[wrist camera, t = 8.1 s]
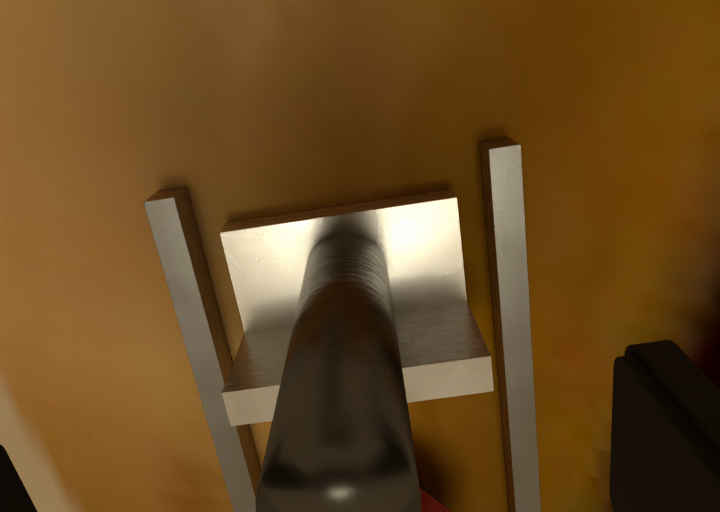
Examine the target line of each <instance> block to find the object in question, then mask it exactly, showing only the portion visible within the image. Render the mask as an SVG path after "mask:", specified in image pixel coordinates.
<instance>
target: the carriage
mask: <svg viewBox="0 0 720 512" xmlns="http://www.w3.org/2000/svg"><path fill="white" fill-rule="evenodd" d="M220 236H221V240H222V244H223V248H224V252H225V256H226V260H227V264H228V268H229V272H230V276H231V280H232V284H233V288H234V292H235V296H236V300H237V304H238V308H239V312H240V316H241V320H242V324H243V328H244V332H245V333H244V336H243V338H242V341H241V343H240V346H239V349H238V351H237V354H236V357H235V359H234V362H233V364H232V367H231V370H230V372H229V375H228V378H227V380H226V383H225V385H224V388H223V391H222V396H223V400H224V403H225V407H226V411H227V414H228V418H229V421H230V425H231V426H237V425H245V424H252V423H260V422H267V421H272V424H271V429H270V434H269V438H268V443H267V447H266V452H265V457H264V461H263V466H262V470H261V475H260V479H259V484H258V489H257V494H256V501H255V504H256V512H421V507H422V504H421V493H420V487H419V480H418V473H417V466H416V459H415V453H414V446H413V439H412V432H411V425H410V418H409V412H408V405H407V403H409V402H416V401H423V400H431V399H438V398H446V397H453V396H461V395H468V394H475V393H483V392H490V391H494V388H493V376H492V364H491V355H490V353H489V351H488V349H487V346H486V344H485V342H484V339H483V337H482V335H481V332H480V330H479V328H478V326H477V323H476V321H475V319H474V316H473V314H472V312H471V310H470V307H469V305H468V303H467V298H466V287H465V277H464V267H463V256H462V246H461V235H460V225H459V215H458V204H457V197H456V196H455V194H454V193H453V191H452V190H451V189H447V190H441V191H434V192H427V193H421V194H414V195H407V196H401V197H394V198H387V199H381V200H374V201H367V202H361V203H354V204H347V205H341V206H334V207H327V208H321V209H314V210H307V211H301V212H294V213H288V214H281V215H274V216H268V217H261V218H254V219H248V220H241V221H234V222H228V223H227V224H226V225H225V226H224V228H223V229H222V231H221V232H220Z"/></svg>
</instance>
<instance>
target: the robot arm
mask: <svg viewBox="0 0 720 512" xmlns="http://www.w3.org/2000/svg"><path fill="white" fill-rule="evenodd" d="M610 498H611V503H612V507H613V510H614V512H720V389H719V388H718V387H717V386H716V385H715V384H714V383H713V382H712V381H711V380H710V379H709V378H708V377H707V376H706V375H705V374H704V373H703V372H702V371H701V370H700V368H699V367H698V366H697V365H696V364H695V363H694V362H693V361H692V360H691V359H690V358H689V357H688V356H687V355H686V354H685V353H684V352H683V351H682V350H681V349H680V348H679V347H678V346H677V345H676V344H675V343H674V342H672V341H670V340H663V341H656V342H649V343H641V344H634V345H630V346H628V347H627V348H626V350H625V355H624V356H621V357H617V358H616V359H615V361H614V373H613V403H612V434H611V465H610ZM0 512H37V510H36V508H35V506H34V504H33V502H32V500H31V498H30V497H29V495H28V493H27V491H26V489H25V487H24V485H23V483H22V481H21V479H20V477H19V475H18V473H17V471H16V469H15V467H14V466H13V464H12V462H11V460H10V458H9V456H8V454H7V452H6V450H5V449H4V447H3V446H2V445H0Z"/></svg>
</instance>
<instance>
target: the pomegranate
mask: <svg viewBox="0 0 720 512" xmlns="http://www.w3.org/2000/svg"><path fill="white" fill-rule="evenodd" d="M420 493H421V504H422V507H421V512H451V511H450V510H449V509H448V508H446V507H445V506H444V505H442V504H441V503H440V502H438V501H437V500H436V499H434V498H433V497H432V496H430V495H429V494H428V493H426V492H425V491H424V490H422V489H420Z"/></svg>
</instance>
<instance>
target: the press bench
mask: <svg viewBox="0 0 720 512" xmlns="http://www.w3.org/2000/svg"><path fill="white" fill-rule="evenodd" d="M479 147H480V159H481V172H482V184H483V197H484V209H485V222H486V234H487V247H488V259H489V272H490V284H491V297H492V309H493V322H494V334H495V347H496V359H497V372H498V384H499V397H500V409H501V422H502V435H503V447H504V460H505V472H506V485H507V497H508V510H509V512H541V507H540V489H539V471H538V453H537V434H536V416H535V398H534V380H533V362H532V344H531V325H530V307H529V289H528V271H527V253H526V235H525V216H524V198H523V180H522V162H521V145H520V144H519V143H517V142H516V141H514V140H512V139H511V138H509V137H507V138H501V139H494V140H488V141H481V142H479ZM144 205H145V209H146V212H147V216H148V219H149V223H150V226H151V229H152V233H153V236H154V240H155V243H156V247H157V250H158V253H159V257H160V260H161V264H162V267H163V271H164V274H165V277H166V281H167V284H168V288H169V291H170V294H171V298H172V301H173V305H174V308H175V312H176V315H177V318H178V322H179V325H180V329H181V332H182V336H183V339H184V342H185V346H186V349H187V353H188V356H189V359H190V363H191V366H192V370H193V373H194V377H195V380H196V383H197V387H198V390H199V394H200V397H201V401H202V404H203V407H204V411H205V414H206V418H207V421H208V424H209V428H210V431H211V435H212V438H213V442H214V445H215V448H216V452H217V455H218V459H219V462H220V466H221V469H222V472H223V476H224V479H225V483H226V486H227V490H228V493H229V496H230V500H231V503H232V507H233V510H234V512H256V504H255V501H256V494H257V489H258V484H259V479H260V475H261V469H260V465H259V461H258V457H257V453H256V450H255V446H254V442H253V438H252V434H251V431H250V427H249V424H245V425H237V426H231V425H230V421H229V418H228V414H227V411H226V407H225V403H224V400H223V396H222V391H223V388H224V385H225V383H226V380H227V378H228V375H229V372H230V370H231V367H232V364H233V362H232V358H231V355H230V351H229V347H228V343H227V339H226V336H225V332H224V328H223V324H222V320H221V317H220V313H219V309H218V305H217V301H216V298H215V294H214V290H213V286H212V282H211V279H210V275H209V271H208V267H207V263H206V260H205V256H204V252H203V248H202V244H201V241H200V237H199V233H198V229H197V225H196V222H195V218H194V214H193V210H192V206H191V203H190V199H189V195H188V191H187V187H182V188H175V189H169V190H162V191H158V192H156V193H155V194H154V195H152V196H151V197H150V198H148V199H147V200H146V201H144Z"/></svg>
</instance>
